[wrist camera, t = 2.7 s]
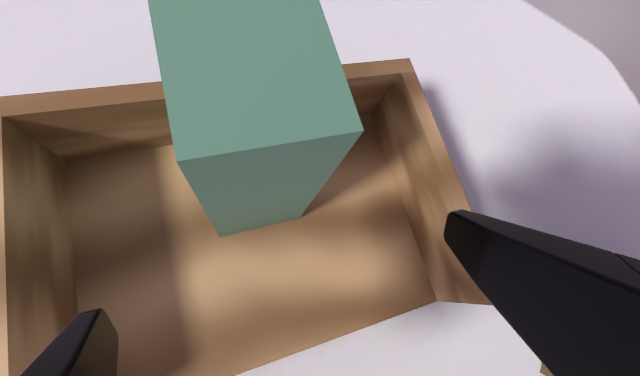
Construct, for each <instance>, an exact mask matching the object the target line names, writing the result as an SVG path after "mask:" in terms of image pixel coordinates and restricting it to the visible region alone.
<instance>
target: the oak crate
mask: <svg viewBox="0 0 640 376" xmlns="http://www.w3.org/2000/svg"><path fill="white" fill-rule="evenodd" d="M342 68H343V71H344V74H345V77H346V80H347V83H348V85H349V88H350V91H351V94H352V97H353V100H354V103H355V106H356V109H357V112H358V114H359V117H360V120H361V123H362V126H363V129H364V131H363V133H362V134H361V135H360V137H359V138H358V139H357V141H356V142H355V143H354V145H353V146H352V148H351V149H350V150H349V152H348V153H347V154H346V156H345V157H344V158H343V160H342V161H341V162H340V164H339V165H338V166H337V168H336V169H335V171H334V172H333V173H332V175H331V176H330V177H329V179H328V180H327V181H326V183H325V184H324V185H323V187H322V188H321V189H320V191H319V192H318V193H317V195H316V196H315V198H314V199H313V200H312V202H311V203H310V204H309V206H308V207H307V208H306V210H305V211H304V212H303V214H302V215H301V216H300V218H298V219H294V220H290V221H286V222H282V223H277V224H273V225H269V226H265V227H261V228H256V229H252V230H248V231H244V232H240V233H236V234H231V235H227V236H223V237H219V235H218V233H217V232H216V230H215V228H214V227H213V225H212V223H211V221H210V220H209V218H208V216H207V214H206V213H205V211H204V209H203V207H202V206H201V204H200V202H199V200H198V199H197V197H196V195H195V194H194V192H193V190H192V188H191V187H190V185H189V183H188V181H187V180H186V178H185V176H184V174H183V173H182V171H181V169H180V168H179V166H178V164H177V162H176V158H175V153H174V147H173V141H172V136H171V130H170V124H169V119H168V113H167V107H166V101H165V96H164V90H163V84H162V81H161V82H151V83H140V84H130V85H119V86H108V87H98V88H87V89H76V90H66V91H55V92H44V93H34V94H23V95H13V96H2V97H0V376H19V375H20V374H21V373H22V372H23V371H24V370H25V369H26V368H27V367H28V366H29V365H30V364H31V363H32V362H33V361H34V360H35V359H36V358H37V357H38V355H39V354H40V353H41V352H42V351H43V350H44V349H45V348H46V347H47V346H48V345H49V344H50V343H51V342H52V341H53V340H54V339H55V338H56V337H57V336H58V335H59V333H60V332H61V331H62V330H63V329H64V328H65V327H66V326H67V325H68V324H69V323H70V322H71V321H72V320H73V319H74V318H75V317H76V316H77V315H78V314H80V313H82V312H86V311H90V310H93V309H97V308H102V309H104V310H105V312H106V313H107V315H108V317H109V318H110V320H111V322H112V324H113V325H114V327H115V329H116V331H117V333H118V338H119V346H118V363H117V376H235V375H238V374H240V373H243V372H246V371H248V370H251V369H254V368H257V367H259V366H262V365H265V364H267V363H270V362H273V361H276V360H278V359H281V358H284V357H286V356H289V355H292V354H295V353H297V352H300V351H303V350H305V349H308V348H311V347H314V346H316V345H319V344H322V343H324V342H327V341H330V340H333V339H335V338H338V337H341V336H343V335H346V334H349V333H352V332H354V331H357V330H360V329H362V328H365V327H368V326H371V325H373V324H376V323H379V322H381V321H384V320H387V319H390V318H392V317H395V316H398V315H400V314H403V313H406V312H409V311H411V310H414V309H417V308H419V307H422V306H425V305H428V304H430V303H433V302H436V301H443V302H457V303H470V304H484V305H493V304H492V303H491V302H490V301H489V300H488V298H487V297H486V296H485V295H484V294H483V293H482V291H481V290H480V289H479V288H478V287H477V285H476V284H475V283H474V281H473V280H472V279H471V277H470V276H469V275H468V273H467V272H466V270H465V269H464V268H463V266H462V265H461V263H460V262H459V261H458V259H457V258H456V256H455V255H454V253H453V252H452V251H451V249H450V248H449V246H448V245H447V244H446V242H445V240H444V236H443V233H444V228H445V223H446V218H447V215H448V214H449V213H450V212H452V211H455V210H459V209H464V210H467V211H471V212H472V210H471V207H470V205H469V202H468V200H467V198H466V195H465V193H464V190H463V188H462V185H461V183H460V180H459V178H458V176H457V173H456V171H455V168H454V166H453V163H452V161H451V159H450V156H449V154H448V151H447V149H446V146H445V144H444V141H443V139H442V137H441V134H440V132H439V129H438V127H437V124H436V122H435V119H434V117H433V115H432V112H431V110H430V107H429V105H428V102H427V100H426V98H425V95H424V93H423V90H422V88H421V85H420V83H419V80H418V78H417V76H416V73H415V71H414V68H413V66H412V63H411V61H410V59H409V58H406V59H395V60H385V61H374V62H363V63H353V64H342Z"/></svg>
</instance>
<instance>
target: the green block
mask: <svg viewBox="0 0 640 376" xmlns="http://www.w3.org/2000/svg"><path fill="white" fill-rule="evenodd" d="M148 5H149V10H150V16H151V22H152V27H153V33H154V39H155V44H156V50H157V56H158V62H159V67H160V73H161V79H162V84H163V90H164V96H165V101H166V107H167V113H168V119H169V124H170V130H171V136H172V141H173V147H174V153H175V158H176V162H177V164H178V166H179V168H180V169H181V171H182V173H183V174H184V176H185V178H186V180H187V181H188V183H189V185H190V187H191V188H192V190H193V192H194V194H195V195H196V197H197V199H198V200H199V202H200V204H201V206H202V207H203V209H204V211H205V213H206V214H207V216H208V218H209V220H210V221H211V223H212V225H213V227H214V228H215V230H216V232H217V233H218V235H219V237H223V236H227V235H231V234H236V233H240V232H244V231H248V230H252V229H256V228H261V227H265V226H269V225H273V224H277V223H282V222H286V221H290V220H294V219H298V218H300V216H301V215H302V214H303V212H304V211H305V210H306V208H307V207H308V206H309V204H310V203H311V202H312V200H313V199H314V198H315V196H316V195H317V193H318V192H319V191H320V189H321V188H322V187H323V185H324V184H325V183H326V181H327V180H328V179H329V177H330V176H331V175H332V173H333V172H334V171H335V169H336V168H337V166H338V165H339V164H340V162H341V161H342V160H343V158H344V157H345V156H346V154H347V153H348V152H349V150H350V149H351V148H352V146H353V145H354V143H355V142H356V141H357V139H358V138H359V137H360V135H361V134H362V133H363V131H364V129H363V126H362V123H361V120H360V117H359V114H358V112H357V109H356V106H355V103H354V100H353V97H352V94H351V91H350V88H349V85H348V83H347V80H346V77H345V74H344V71H343V68H342V65H341V62H340V59H339V56H338V54H337V51H336V48H335V45H334V42H333V39H332V36H331V33H330V30H329V27H328V24H327V22H326V19H325V16H324V13H323V10H322V7H321V4H320V1H319V0H148Z"/></svg>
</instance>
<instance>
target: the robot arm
mask: <svg viewBox="0 0 640 376" xmlns="http://www.w3.org/2000/svg"><path fill="white" fill-rule="evenodd" d="M443 236H444V240H445V242H446V244H447V245H448V246H449V248H450V249H451V251H452V252H453V253H454V255H455V256H456V258H457V259H458V261H459V262H460V263H461V265H462V266H463V268H464V269H465V270H466V272H467V273H468V275H469V276H470V277H471V279H472V280H473V281H474V283H475V284H476V285H477V287H478V288H479V289H480V290H481V291H482V293H483V294H484V295H485V296H486V297H487V298H488V300H489V301H490V302H491V303H492V304H493V305H494V307H495V308H496V309H497V310H498V311H499V313H500V314H501V315H502V316H503V317H504V318H505V320H506V321H507V322H508V323H509V324H510V325H511V327H512V328H513V329H514V330H515V331H516V332H517V334H518V335H519V336H520V337H521V338H522V339H523V341H524V342H525V343H526V344H527V345H528V346H529V348H530V349H531V350H532V351H533V352H534V353H535V355H536V356H537V357H538V358H539V359H540V360H541V362H542V363H543V364H544V365H545V366H546V368H547V369H548V370H549V371H550V372H551V373H552V375H553V376H640V260H638V259H635V258H631V257H628V256H624V255H621V254H617V253H614V254H613V253H612V252H610V251H607V250H603V249H600V248H596V247H593V246H589V245H586V244H582V243H579V242H575V241H572V240H568V239H565V238H561V237H558V236H554V235H551V234H547V233H544V232H540V231H537V230H533V229H530V228H526V227H523V226H520V225H516V224H513V223H509V222H506V221H502V220H499V219H495V218H492V217H488V216H485V215H481V214H478V213H474V212H471V211H467V210H464V209H459V210H455V211H452V212H450V213H449V214H448V215H447V218H446V223H445V228H444V233H443ZM118 346H119V338H118V333H117V331H116V329H115V327H114V325H113V324H112V322H111V320H110V318H109V317H108V315H107V313H106V312H105V310H104V309H102V308H97V309H93V310H90V311H86V312H82V313H80V314H78V315H77V316H76V317H75V318H74V319H73V320H72V321H71V322H70V323H69V324H68V325H67V326H66V327H65V328H64V329H63V330H62V331H61V332H60V333H59V335H58V336H57V337H56V338H55V339H54V340H53V341H52V342H51V343H50V344H49V345H48V346H47V347H46V348H45V349H44V350H43V351H42V352H41V353H40V354H39V355H38V357H37V358H36V359H35V360H34V361H33V362H32V363H31V364H30V365H29V366H28V367H27V368H26V369H25V370H24V371H23V372H22V373H21V374H20V375H19V376H117V363H118Z"/></svg>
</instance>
